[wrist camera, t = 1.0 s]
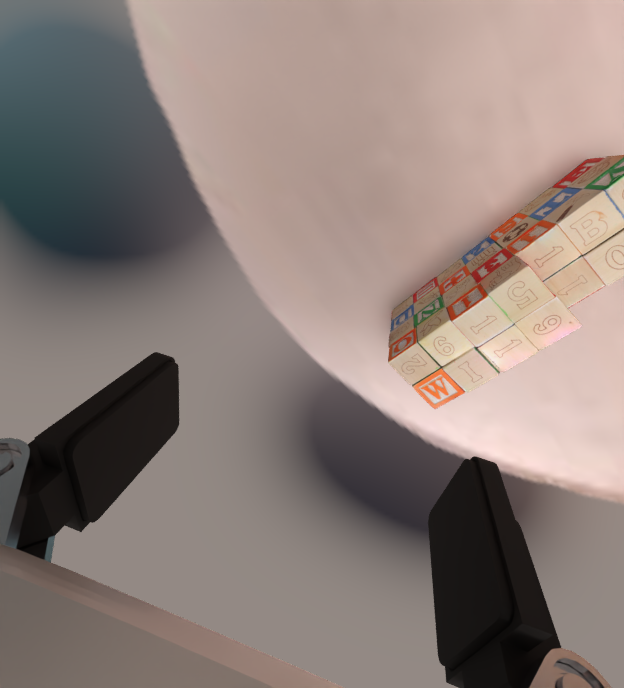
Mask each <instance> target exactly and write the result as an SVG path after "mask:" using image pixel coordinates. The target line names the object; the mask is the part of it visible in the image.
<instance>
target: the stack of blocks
mask: <svg viewBox="0 0 624 688" xmlns="http://www.w3.org/2000/svg"><path fill="white" fill-rule="evenodd" d="M623 276H624V155H619V156H608V157H605V158H593V159H587V160H586V161H584V162H583V163H582V164H581V165H579V166H578V167H577V168H576V169H574V170H573V171H572V172H571V173H569V174H568V175H567V176H566V177H564V178H563V179H562V180H560V181H559V182H558V183H557V184H556V185H554V186H553V187H552V188H549V189H548V190H546V191H545V192H544V193H543V194H541V195H540V196H539V197H537V198H536V199H535V200H534V201H532V202H531V203H530V204H529V205H527V206H526V207H525V208H523V209H522V210H521V211H520V212H519V213H517V214H516V215H514V216H513V217H512V218H510V219H509V220H508V221H507V222H505V223H504V224H503V225H501V226H500V227H499V228H498V229H496V230H495V231H494V232H493V233H491V234H490V235H489V237H488V238H486V239H485V240H483V241H482V242H481V243H480V244H478V245H477V246H476V247H474V248H473V249H472V250H471V251H469V252H468V253H467V254H465V255H464V256H463V257H462V258H461V259H460V260H458V261H457V262H456V263H454V264H453V265H452V266H450V267H449V268H448V269H447V270H445V271H444V272H443V273H442V274H440V275H439V276H438V277H436V278H434V279H433V280H431V281H430V282H429V283H428V284H426V285H425V286H424V287H422V288H421V289H420V290H419V291H417V292H416V293H415V294H413V295H412V296H411V297H409V298H408V299H407V300H405V301H404V302H403V303H401V304H400V305H399V306H398V307H396V308H395V309H394V310H393V311H392V318H391V321H392V322H391V331H390V336H389V357H388V363H389V364H390V365H391V366H392V367H393V368H394V369H395V370H396V371H397V372H398V373H399V374H400V375H401V376H402V377H403V378H404V380H405V381H406V382H407V383H408V384H409V385H412V386H413V388H414V389H415V391H416V392H417V393H418V394H419V395H420V396H421V397H422V398H423V399H424V400H425V401H426V402H427V403H429V404H430V405H431V406H432V407H433V408H434V409H437V408H438V407H440V406H442V405H444V404H446V403H447V402H449V401H451V400H453V399H455V398H456V397H458V396H460V395H462V394H464V392H470V391H472V390H473V389H475V388H477V387H479V386H480V385H482V384H484V383H486V382H487V381H489V380H491V379H493V378H494V377H496V376H498V375H499V373H500V372H505V371H507V370H509V369H511V368H512V367H514V366H516V365H517V364H519V363H521V362H523V361H524V360H526V359H528V358H530V357H531V356H533V355H535V354H536V353H537V352H538V351H539V350H542V349H544V348H546V347H548V346H549V345H551V344H553V343H555V342H556V341H558V340H560V339H562V338H563V337H565V336H567V335H568V334H570V333H572V332H573V331H575V330H577V329H579V328H581V327H582V326H583V325H582V324H581V323H580V322H579V321H578V320H577V319H576V318H575V316H574V315H573V314H572V313H571V312H570V311H569V310H568V308H570V307H571V306H573V305H575V304H576V303H578V302H580V301H581V300H583V299H585V298H586V297H588V296H590V295H591V294H593V293H595V292H596V291H598V290H600V289H601V288H603V287H604V286H608V285H610V284H612V283H613V282H615V281H617V280H618V279H620V278H622V277H623Z"/></svg>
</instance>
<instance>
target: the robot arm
mask: <svg viewBox="0 0 624 688" xmlns="http://www.w3.org/2000/svg"><path fill="white" fill-rule="evenodd" d="M178 380H179V379H178V365H177V364H176V363H175V360H174V359H173V358H172V357H170V356H167V355H164V354H160V353H157V352H155V353H153V354H151V355H150V356H148V357H147V358H145V359H144V360H143V361H141V362H140V363H139V364H137V365H136V366H134V367H133V368H131V369H130V370H129V371H127V372H126V373H124V374H123V375H122V376H120V377H119V378H117V379H116V380H115V381H113V382H112V383H111V384H109V385H108V386H106V387H105V388H104V389H102V390H101V391H99V392H98V393H97V394H95V395H94V396H92V397H91V398H90V399H88V400H87V401H85V402H84V403H83V404H81V405H80V406H78V407H77V408H76V409H74V410H73V411H71V412H70V413H69V414H67V415H66V416H64V417H63V418H62V419H60V420H59V421H57V422H56V423H55V424H53V425H52V426H50V427H49V428H48V429H46V430H45V431H43V432H42V433H41V434H39V435H38V436H36V437H35V440H33V441H32V442H30V443H29V444H28V445H27V443H25V442H24V441H22V440H19V439H13V438H4V439H3V438H2V439H0V688H344V687H341V686H339V685H337V684H335V683H332V682H330V681H328V680H326V679H323V678H321V677H319V676H316V675H314V674H312V673H309V672H307V671H305V670H302V669H300V668H298V667H296V666H293V665H291V664H289V663H287V662H284V661H282V660H279V659H277V658H275V657H273V656H270V655H268V654H266V653H263V652H261V651H258V650H256V649H254V648H252V647H249V646H247V645H244V644H242V643H240V642H238V641H235V640H233V639H231V638H228V637H226V636H224V635H221V634H219V633H217V632H214V631H212V630H210V629H207V628H205V627H202V626H200V625H198V624H196V623H193V622H191V621H189V620H186V619H184V618H182V617H179V616H177V615H174V614H172V613H170V612H168V611H165V610H163V609H161V608H158V607H156V606H154V605H151V604H149V603H147V602H144V601H142V600H139V599H137V598H135V597H132V596H130V595H128V594H125V593H123V592H121V591H118V590H116V589H113V588H111V587H109V586H106V585H104V584H101V583H99V582H96V581H95V580H92V579H90V578H87V577H85V576H83V575H80V574H78V573H76V572H73V571H71V570H68V569H66V568H63V567H61V566H58V565H56V564H53V563H51V558H52V551H53V546H54V539H55V535H56V534H57V533H58V532H59V531H60V529H61V528H62V527H63V526H64V525H65V526H68V527H70V528H73V529H75V530H77V531H80V532H82V530H83V529H84V528H85V527H86V526H87V525H88V524H89V523H90V522H95V521H97V520H98V519H99V518H100V517H101V516H102V515H103V514H104V512H105V511H106V510H107V509H108V508H109V507H110V506H111V504H112V503H113V502H114V501H115V500H116V499H117V498H118V496H119V495H120V494H121V493H122V492H123V491H124V490H125V489H126V488H127V486H128V485H129V484H130V483H131V482H132V481H133V480H134V478H135V477H136V476H137V475H138V474H139V473H140V472H141V471H142V469H143V468H144V467H145V466H146V465H147V463H149V461H150V460H151V459H152V458H153V457H154V456H155V455H156V454H157V452H158V451H159V450H160V449H161V448H162V447H163V445H164V444H165V443H166V442H167V441H168V440H169V439H170V438H171V436H172V435H173V434H174V433H175V432H176V430H177V428H178V425H179V381H178ZM428 526H429V539H430V552H431V567H432V579H433V594H434V607H435V620H436V633H437V647H438V657H439V661H440V663H441V664H442V665H443V666H445V670H446V682H447V683H449V684H451V685H454V686H456V687H459V688H611V686H610V685H609V683H608V682H607V681H606V680H605V679H604V678H603V676H602V675H601V674H600V673H599V672H598V671H597V670H596V669H595V668H594V667H593V666H592V665H591V664H590V663H588V662H587V661H586V660H585V659H584V658H582V657H581V656H579V655H577V654H576V653H574V652H572V651H569V650H566V649H563V648H561V646H560V642H559V640H558V637H557V634H556V631H555V628H554V625H553V622H552V619H551V616H550V613H549V610H548V607H547V604H546V601H545V598H544V595H543V592H542V589H541V586H540V583H539V580H538V577H537V574H536V571H535V568H534V565H533V562H532V559H531V556H530V553H529V550H528V547H527V544H526V541H525V539H524V535H523V532H522V530H521V527H520V525H519V523H518V522H517V521H516V520H515V517H514V514H513V511H512V508H511V505H510V502H509V499H508V496H507V493H506V490H505V487H504V484H503V481H502V477H501V474H500V471H499V468H498V466H497V464H496V463H494V462H491V461H488V460H485V459H482V458H479V457H472V458H471V459H470V460H469V459H465V460H464V461H463V463H462V464H461V466H460V468H459V469H458V470H457V472H456V473H455V475H454V477H453V478H452V479H451V481H450V483H449V484H448V486H447V487H446V489H445V490H444V492H443V493H442V495H441V496H440V498H439V499H438V501H437V502H436V504H435V505H434V507H433V509H432V510H431V512H430V514H429V520H428Z"/></svg>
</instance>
